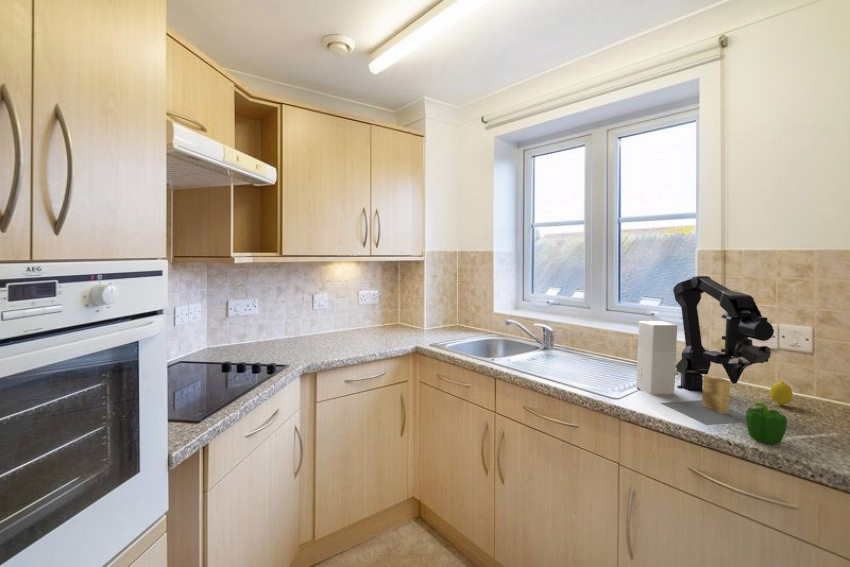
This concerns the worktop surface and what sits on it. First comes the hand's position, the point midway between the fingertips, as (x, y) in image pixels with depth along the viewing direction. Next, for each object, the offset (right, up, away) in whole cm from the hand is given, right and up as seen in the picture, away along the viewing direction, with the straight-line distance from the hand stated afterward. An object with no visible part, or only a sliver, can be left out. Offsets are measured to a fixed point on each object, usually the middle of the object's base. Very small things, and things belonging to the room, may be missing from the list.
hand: (733, 383), depth 130 cm
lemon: (+19, -9, +5) cm, 21 cm away
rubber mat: (-10, -9, -2) cm, 14 cm away
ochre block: (-6, -8, -1) cm, 10 cm away
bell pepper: (-8, -10, -21) cm, 25 cm away
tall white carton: (-15, -8, +18) cm, 25 cm away
